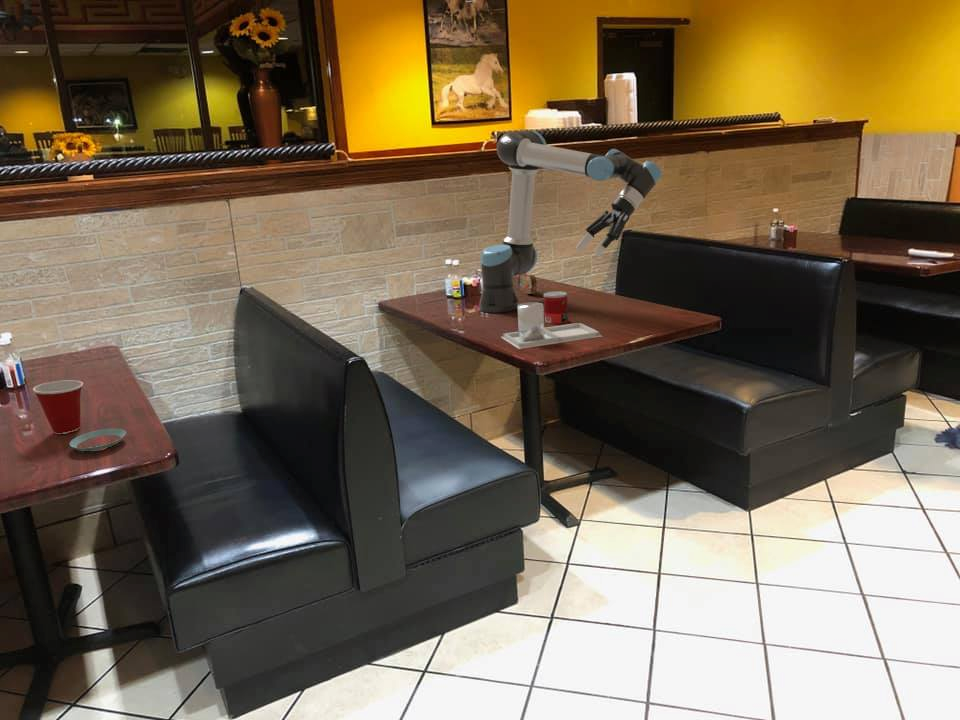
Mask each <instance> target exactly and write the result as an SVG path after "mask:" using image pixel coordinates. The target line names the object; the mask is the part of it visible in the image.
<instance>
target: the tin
mask: <svg viewBox="0 0 960 720" xmlns="http://www.w3.org/2000/svg"><path fill="white" fill-rule="evenodd" d="M517 283H518V288H519V291H520V290H523V291H525V292H527V293H529V294H534V295H535V294H536V293H537V278H536V276H535V275H534V274H531V273H529V272H527V273H525V274H521V275H518V281H517Z"/></svg>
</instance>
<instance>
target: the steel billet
mask: <svg viewBox="0 0 960 720" xmlns="http://www.w3.org/2000/svg"><path fill="white" fill-rule="evenodd" d="M517 322H518V326H517V327H518V332H519V341H521V342H530V341H536V340H543V339H545V337H544V328H545V318H544V303H541V302H536V301H535V302H534V301H533V302H532V301H531V302H530V301H529V302H522V303H519V305H518V309H517Z"/></svg>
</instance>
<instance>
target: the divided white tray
mask: <svg viewBox="0 0 960 720" xmlns="http://www.w3.org/2000/svg"><path fill="white" fill-rule="evenodd" d="M544 337H545V339H543V340H536V341H530V342H521V341H519V331H513V332H505V333H502V336H500V338H501V339H503V341H505V342H507V343H509V344H510V345H511V346H513V347H515V348H516V349H519V350H522V349H528V348H534V347H541V346H547V345H549V346H550V345H555V344H561V343H567V342H573V341H580V340H587V339H588V340H589V339H593V338H600V337H601V338H603V335H601V334H600V331H598V330H596V329H594V328H592V327H590V326H588V325H585V324H584V323H581V322H575V323H569V324H568V323H566V324H561V325H555V326H548V327H547V326H546V327H544Z"/></svg>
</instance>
